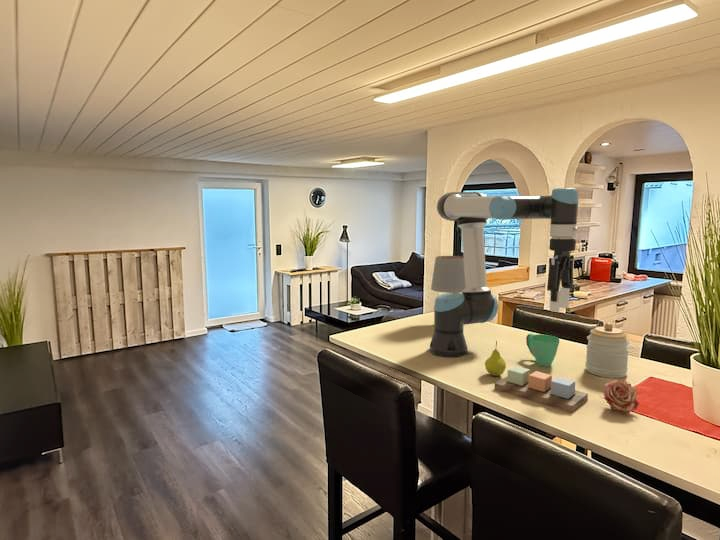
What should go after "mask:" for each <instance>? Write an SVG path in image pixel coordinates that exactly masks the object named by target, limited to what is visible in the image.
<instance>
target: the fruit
mask: <svg viewBox="0 0 720 540" xmlns="http://www.w3.org/2000/svg"><path fill="white" fill-rule="evenodd" d="M497 345H498V340H496V341H495V347H497ZM484 366H485V370H486V372H488V374H489V375H491V376H492V377H498V376H500V375H503V374H504V372H505V370H506V368H507V365H506V361H505V359H503V357H502V356H501V353H500V351H499V350H498V349H497V348H494V350H493V351H492V352H491V355H490V356H488V358H487V359H486V360H485V362H484Z"/></svg>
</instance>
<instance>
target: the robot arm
mask: <svg viewBox="0 0 720 540" xmlns="http://www.w3.org/2000/svg"><path fill="white" fill-rule="evenodd" d="M438 199H439V200H438V201H437V204H436V211H437V214H438V215H439V216H440V217H441V218H442V219H444V220H445V221H449V222H457V227H458V228H459V229H460V230H461V234H462V235H461V238H462V257H464V271H465V288H464V289H463V291H462V292H460V293H446V292H445V293H442V294H439V295H438V296H436V297H435V299H434V306H433V310H434V311H433V312H434V314H433V315H434V316H433V317H434V319H433V320H434V321H433V324H434V325H433V327H434V328H433V331H434V332H433V335H432V337H431V341H430V343H429V352H430V353H431V354H433V355H436V356H440V357H449V358H455V357H457V358H458V357H461V356H462V357H463V356H465V355H467V354H468V348H469V347H468V344H467V341H466V337H465V335H464V329H465V327H464V325H472V324H473V325H474V324H479V323H480V324H482V323H483V324H484V323H487V322H491V321H493V320H494V318H495V317H497V314H498V310H499V302H498V299H496V298H497V297H496V296H495V295H494V294H493V293H492V290H491V288H490V287H488V285H487V283H488V281H487V270H486V269H487V267H486V252H485V239H484V238H485V237H484V228H485V227H486V225H487V220H489V219H495V220H500V221H502V220H503V221H506V220H537V219H538V220H540V219H541V220H544V219H545V220H547V219H549V220H550V222H549V223H550V226H549V237H551V238H550V239H549V250H550V251H553V252H554V254H553V256H552V257H549V259H548V275H547V284H546V285H547V287H546V290H547V291H549V292H550V294H549V311H550V312H555V313H560V308H563V309H569V308H570V307H569V305H570V290H571V289H573V288H574V285H573V284H574V259H575V256H574V255H572V254H571V253H570V252H574V251H575V250H576V246H577V245H576V242H577V239H576V236H577V231H578V230H579V228H578V227H577V225H578V223H577V220H578V219H577V218H578V207H579V191H578V189H577V188H574V187H567V188H566V187H563V188H562V187H561V188H560V187H559V188H554V189H552V190H551V195H489V196H487V194H485V193H483V192H476V191H465V192H464V191H461V192H459V191H458V192H457V191H451V192H447V193H445V194H443V195H441V197H440V198H438ZM560 285H561V287H560Z"/></svg>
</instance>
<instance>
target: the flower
mask: <svg viewBox="0 0 720 540" xmlns="http://www.w3.org/2000/svg"><path fill="white" fill-rule="evenodd" d="M602 390H603V397H602V396H600V398H602V399H604V400H605V401H606V403H607V404H608V405H609V406H610V411H609V412H611V411H613V410H616V411H618V410H619V411H624V412H625V413H627V415H628V414H630V412H632V411H636V410H638V408H639V405H640V403H639V402H640V401H639V398H637V396H638V389H637V388H636V387H632V384H631V383H628V381H624V380H620V379H619V378H616V379H615V380H613V381H611V382H606V383H603V389H602Z"/></svg>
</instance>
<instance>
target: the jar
mask: <svg viewBox="0 0 720 540" xmlns="http://www.w3.org/2000/svg"><path fill="white" fill-rule="evenodd" d="M589 333H590V334H589V335H588V336H586V339H587V340H588V343H587V345H586V346H585V347H586V357H585V359H586V361H585V370H586V371H587V372H588V373H589V374H592V375H594V376H597V377H598V376H599V377H603V378H607V379H619V378H621V379H622V378H625V377H626V376H627V373H628V371H629V370H628V359H629V353H630V350H629V349H628V345H630V342H631V341H630V340H628V339H627V338H626V337H628V334H627V333H626V332H624V331H623V330H622V329H620V328H616V327H614V325H613V324H612V323H611V322H607V323H605V324H604V326H596V327H594V328H592V329H590V331H589Z"/></svg>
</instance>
